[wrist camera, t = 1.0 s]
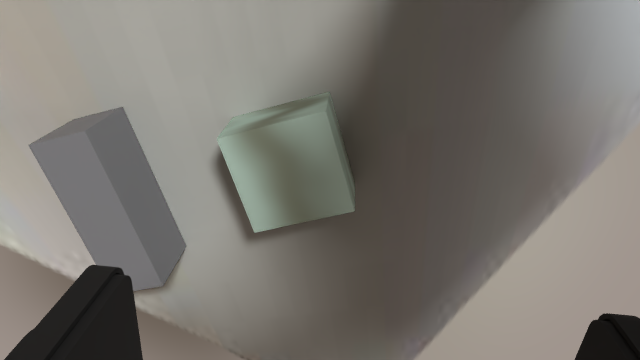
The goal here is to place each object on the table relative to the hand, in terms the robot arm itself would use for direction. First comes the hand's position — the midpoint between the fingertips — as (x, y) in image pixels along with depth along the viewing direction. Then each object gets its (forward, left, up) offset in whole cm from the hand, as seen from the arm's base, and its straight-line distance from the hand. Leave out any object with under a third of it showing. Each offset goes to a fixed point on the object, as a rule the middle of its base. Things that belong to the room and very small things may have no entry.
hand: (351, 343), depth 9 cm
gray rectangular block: (+18, +4, -23) cm, 30 cm away
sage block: (+5, +4, -23) cm, 24 cm away
